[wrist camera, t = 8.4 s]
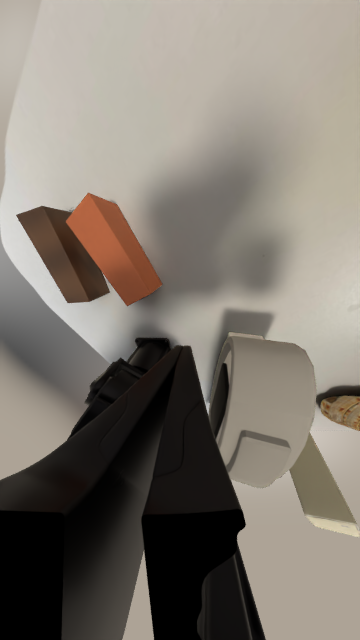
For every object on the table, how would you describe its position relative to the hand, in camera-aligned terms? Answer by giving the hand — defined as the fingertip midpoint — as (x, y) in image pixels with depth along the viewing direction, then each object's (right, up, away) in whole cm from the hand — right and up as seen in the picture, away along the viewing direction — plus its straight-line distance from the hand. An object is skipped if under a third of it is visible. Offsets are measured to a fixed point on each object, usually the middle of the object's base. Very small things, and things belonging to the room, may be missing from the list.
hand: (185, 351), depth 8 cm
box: (+19, -14, +18) cm, 29 cm away
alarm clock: (+9, -7, +16) cm, 20 cm away
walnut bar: (-14, +11, +11) cm, 21 cm away
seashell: (+27, -11, +14) cm, 33 cm away
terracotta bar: (-7, +10, +10) cm, 16 cm away
